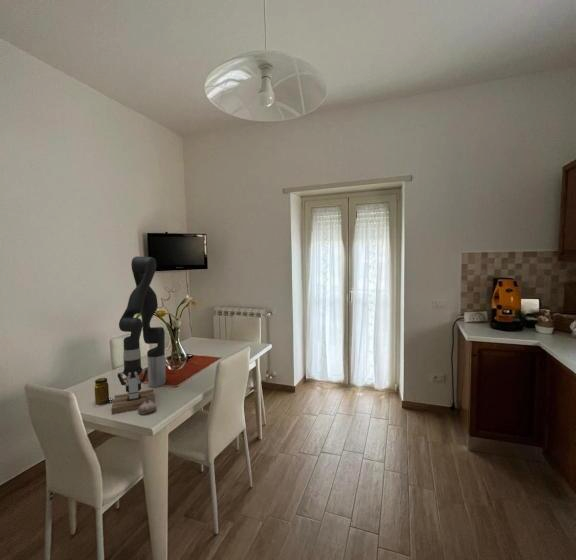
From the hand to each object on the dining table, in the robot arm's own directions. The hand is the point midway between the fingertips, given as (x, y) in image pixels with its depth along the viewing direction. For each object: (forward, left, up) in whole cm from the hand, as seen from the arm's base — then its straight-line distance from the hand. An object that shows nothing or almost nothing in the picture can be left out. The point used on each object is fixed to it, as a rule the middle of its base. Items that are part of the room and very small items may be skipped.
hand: (133, 391), depth 154 cm
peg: (0, 0, -3) cm, 3 cm away
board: (0, 0, -7) cm, 7 cm away
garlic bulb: (+12, +6, -7) cm, 15 cm away
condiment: (-9, -14, -7) cm, 18 cm away
